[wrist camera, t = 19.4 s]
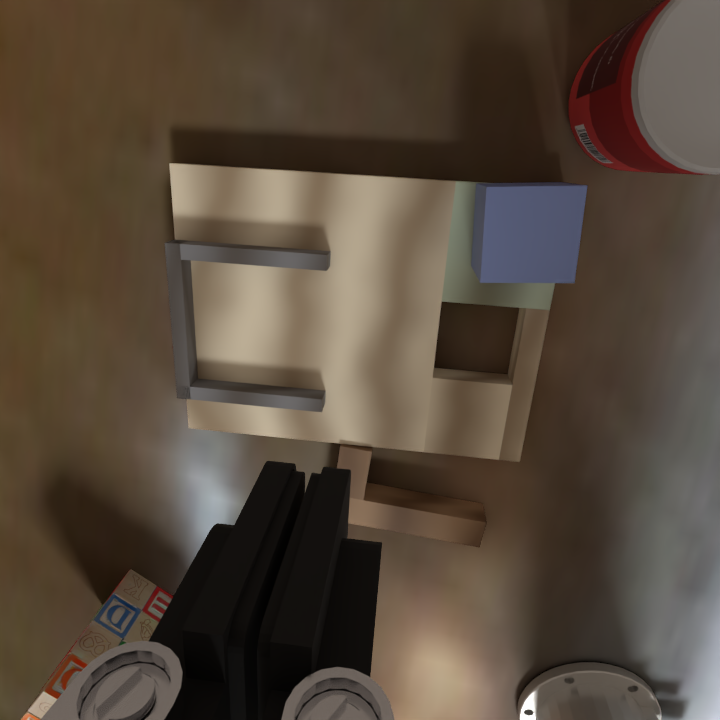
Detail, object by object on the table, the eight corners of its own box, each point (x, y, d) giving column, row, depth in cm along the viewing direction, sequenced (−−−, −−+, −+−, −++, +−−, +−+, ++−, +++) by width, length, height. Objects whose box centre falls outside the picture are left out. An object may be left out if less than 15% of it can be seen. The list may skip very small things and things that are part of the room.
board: (564, 187, 32) (581, 190, 29) (514, 447, 39) (523, 473, 36) (182, 163, 34) (158, 163, 31) (198, 416, 41) (180, 437, 38)
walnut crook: (495, 457, 40) (500, 474, 38) (476, 526, 42) (479, 547, 40) (344, 430, 40) (340, 446, 38) (333, 500, 43) (329, 519, 41)
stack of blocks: (313, 681, 51) (283, 831, 40) (278, 712, 53) (241, 862, 42) (129, 566, 48) (40, 692, 37) (100, 604, 50) (7, 734, 39)
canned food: (681, 177, 32) (807, 184, 21) (550, 163, 32) (612, 164, 22) (726, 34, 29) (896, -37, 19) (581, 20, 29) (670, -56, 19)
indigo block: (561, 182, 31) (587, 185, 26) (551, 266, 32) (574, 283, 28) (475, 183, 31) (486, 186, 26) (471, 265, 33) (480, 282, 28)
